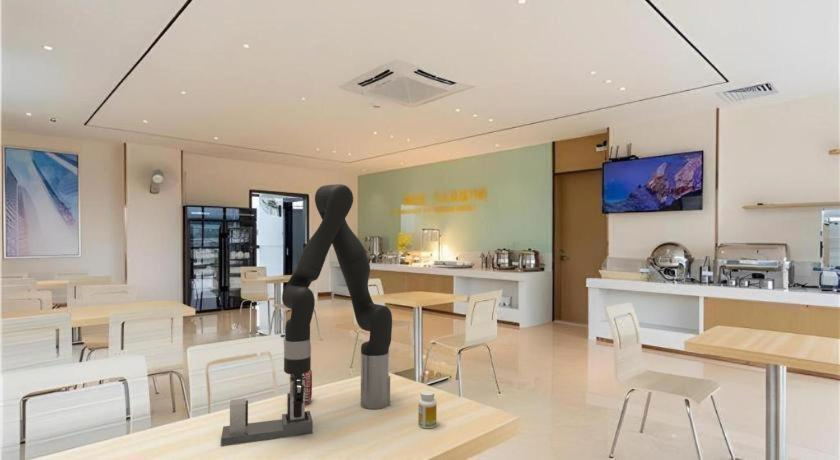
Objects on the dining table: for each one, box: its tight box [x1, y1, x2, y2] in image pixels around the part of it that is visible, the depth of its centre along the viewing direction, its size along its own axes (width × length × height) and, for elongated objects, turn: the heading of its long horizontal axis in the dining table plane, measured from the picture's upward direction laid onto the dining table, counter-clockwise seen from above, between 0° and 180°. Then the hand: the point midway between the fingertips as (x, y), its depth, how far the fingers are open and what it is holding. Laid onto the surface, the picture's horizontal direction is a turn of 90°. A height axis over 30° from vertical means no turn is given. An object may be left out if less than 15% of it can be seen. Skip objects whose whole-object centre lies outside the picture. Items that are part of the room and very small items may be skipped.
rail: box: [220, 397, 314, 447], centre depth 132 cm, size 24×8×10 cm, turn 109°
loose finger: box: [286, 390, 306, 423], centre depth 135 cm, size 5×4×8 cm
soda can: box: [289, 369, 313, 406], centre depth 156 cm, size 7×7×12 cm
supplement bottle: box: [417, 390, 437, 429], centre depth 139 cm, size 5×5×10 cm
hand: (296, 413), depth 135 cm, fingers closed on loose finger, 4 cm apart
